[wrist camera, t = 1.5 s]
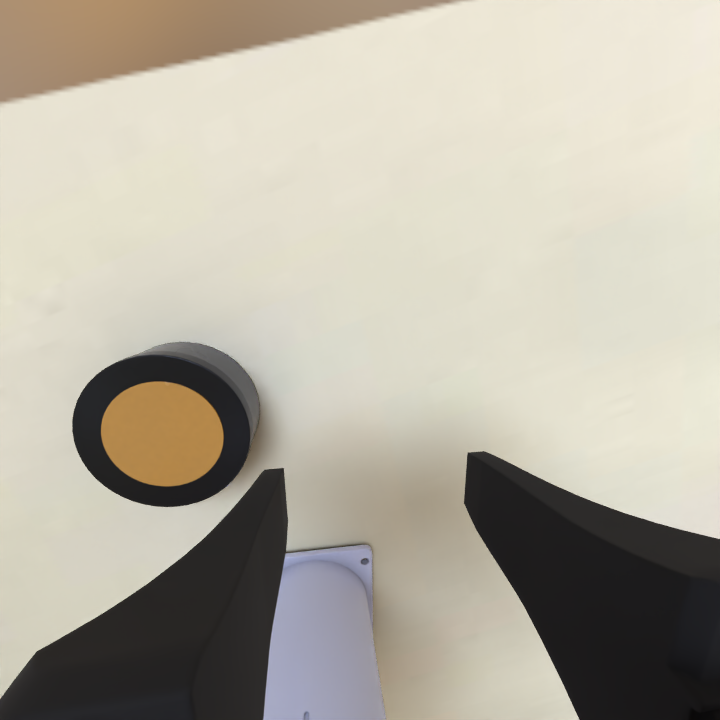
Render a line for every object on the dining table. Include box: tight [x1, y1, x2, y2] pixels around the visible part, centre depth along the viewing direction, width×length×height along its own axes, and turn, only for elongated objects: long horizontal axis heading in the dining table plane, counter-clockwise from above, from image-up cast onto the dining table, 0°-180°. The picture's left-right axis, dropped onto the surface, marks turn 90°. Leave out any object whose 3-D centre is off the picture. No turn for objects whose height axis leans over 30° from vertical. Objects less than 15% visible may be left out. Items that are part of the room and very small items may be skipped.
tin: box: [72, 342, 260, 507], centre depth 17 cm, size 8×8×3 cm
